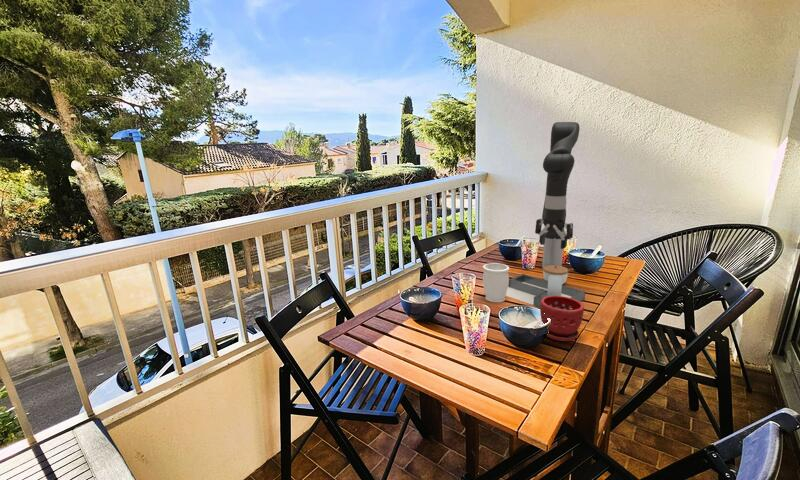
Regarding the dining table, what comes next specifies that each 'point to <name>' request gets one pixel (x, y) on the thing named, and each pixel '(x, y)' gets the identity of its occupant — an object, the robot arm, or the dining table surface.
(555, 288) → the peg
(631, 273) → the dining table surface
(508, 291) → the channel board
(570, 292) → the channel walls
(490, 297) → the jar
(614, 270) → the dining table surface
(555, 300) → the plant pot
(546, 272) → the lidded jar
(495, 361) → the dining table surface
